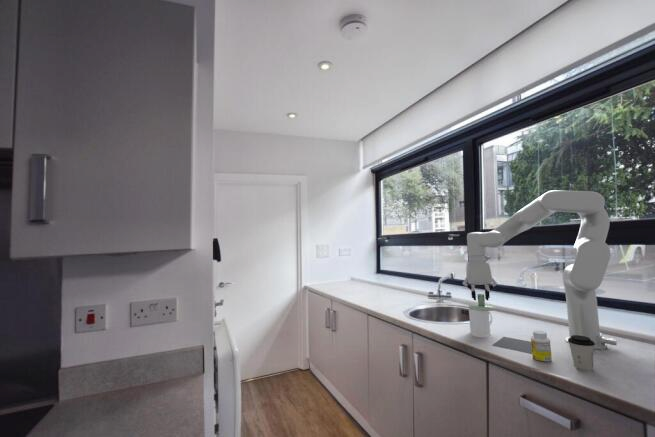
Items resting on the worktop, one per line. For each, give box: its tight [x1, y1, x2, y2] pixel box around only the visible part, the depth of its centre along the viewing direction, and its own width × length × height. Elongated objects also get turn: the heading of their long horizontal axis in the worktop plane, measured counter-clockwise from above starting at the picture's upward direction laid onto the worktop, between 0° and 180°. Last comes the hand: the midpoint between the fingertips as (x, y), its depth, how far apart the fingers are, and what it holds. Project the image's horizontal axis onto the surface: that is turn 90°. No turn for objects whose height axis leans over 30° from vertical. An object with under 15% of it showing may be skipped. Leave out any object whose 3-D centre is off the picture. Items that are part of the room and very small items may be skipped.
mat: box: [491, 336, 532, 355], centre depth 123 cm, size 14×14×1 cm
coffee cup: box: [568, 335, 595, 373], centre depth 101 cm, size 7×7×10 cm
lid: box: [467, 293, 497, 312], centre depth 139 cm, size 11×11×6 cm
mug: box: [468, 307, 493, 338], centre depth 138 cm, size 12×8×12 cm
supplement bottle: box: [530, 330, 553, 364], centre depth 108 cm, size 6×6×10 cm
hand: (480, 299), depth 139 cm, fingers open, 4 cm apart
